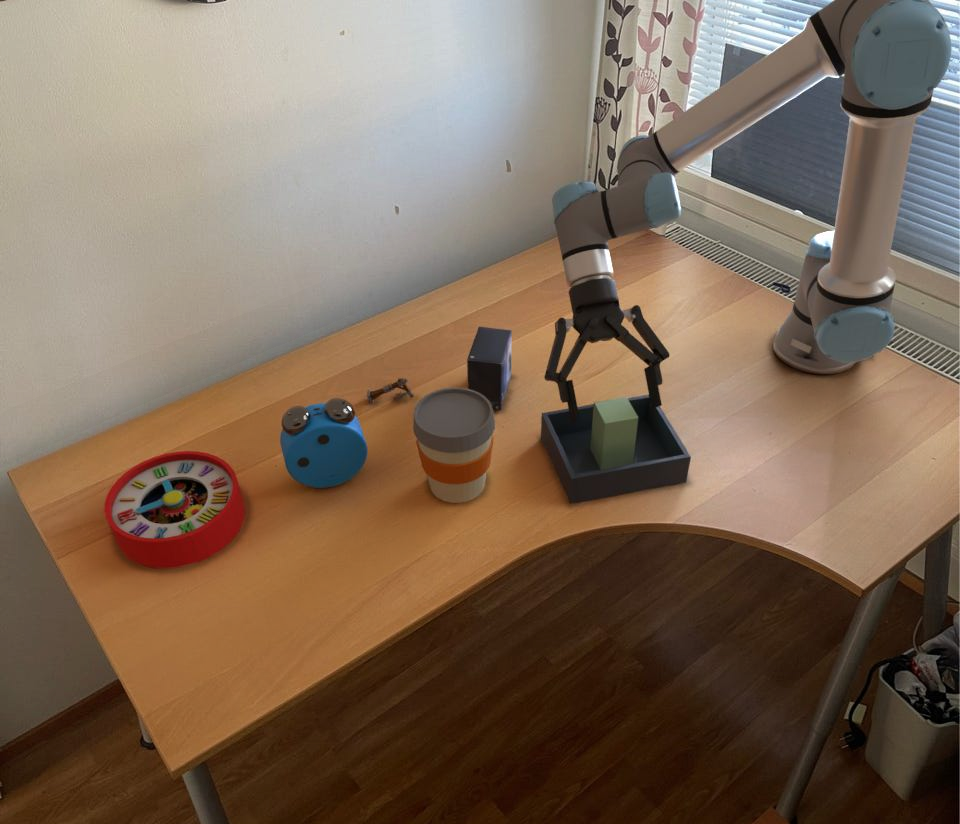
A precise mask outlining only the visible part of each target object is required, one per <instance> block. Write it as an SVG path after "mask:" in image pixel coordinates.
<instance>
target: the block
mask: <svg viewBox="0 0 960 824" xmlns="http://www.w3.org/2000/svg"><path fill="white" fill-rule="evenodd" d="M627 398H628V397H627V396H622V397H617V398H611V399H606V400H599V401H594V402H593V404H594V408H593V421H592V434H591V446H590V450H591V452H592V454H593V456H594V458H595V460H596V462H597V464H598V466H599V468H600V470H603V469H608V468H614V467H619V466H624V465H630V464H633V457H634V449H635V441H636V433H637V425H638V416H637V414H636V413H635V411H634V409H633V407H632V406H631V404H630V402H629V400H628V399H627Z"/></svg>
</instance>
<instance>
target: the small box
mask: <svg viewBox="0 0 960 824" xmlns="http://www.w3.org/2000/svg"><path fill="white" fill-rule="evenodd" d="M512 333H513V330H512V329H503V328H496V327H495V328H494V327H487V326H478V328H477V331H476V334H475V336H474V339H473V342H472V345H471V348H470V350H469V352H468V355H467V359H466V373H467V374H466V375H467V376H466V378H467V389H470V390H474V391H476V392H479V393H481V394H482V395H484V396H485V397H486V398H487V399H488V400H489V401H490V403H491V405H492V409H493V411H502V409H503V405H504V402H505V399H506V395H507V392H508V388H509V385H510V382H511V379H512V354H513V353H512V348H513V347H512V344H513V343H512V341H513V340H512V337H513V334H512Z"/></svg>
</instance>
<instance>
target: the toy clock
mask: <svg viewBox="0 0 960 824" xmlns="http://www.w3.org/2000/svg"><path fill="white" fill-rule="evenodd" d="M103 512H104V515H105V516H104V517H105V519H106V522H107V524H108V526H109V528H110V531H111V533H112V534H113V537H114V539H115V542H116V544H117V546H118V548H119V549H120V551H121V553H122V554H123V555H125V557H126V558H127V559H129V560H130V561H132V562H134V563H135V564H138V565H141V566H142V567H147V568H152V569H165V570H166V569H176V568H182V567H187V566H191V565H194V564H197V563H200V562H202V561H205V560H207V559H209V558H212V557H213V556H214V555H216V554H217V553H219V552H220V551H222V550H223V549H224V548H225V547H227V546H228V545H229V544H230V543H232V541H233V540H234V539H235V538H236V537H237V535H238V534H239V532H240V531H241V529H242V527H243V525H244V522H245V519H246V504H245V501H244V497H243V493H242V491H241V487H240V483H239V481H238V478H237V474H236V473H235V470H234V469H233V468H232V466H231V465H230V464H229V463H228V462H227V461H225V460H224V459H222V458H221V457H219V456H218V455H214V454H211V453H208V452H203V451H198V450H197V451H196V450H195V451H194V450H181V451H173V452H168V453H167V452H166V453H164V454H160V455H156V456H154V457H151V458H148V459H146V460H143V461H142V462H140V463H138V464H136V465H135V466H133V467H131V468H130V469H128V470H127V471H125V472H124V473H123V474H122V475H121V476H120V477H119V478H118V479H117V480H116V481H115V482H114V483H113V484H112V486H111V487H110V489H109V491H108V493H107V494H106V498H105V501H104V511H103Z"/></svg>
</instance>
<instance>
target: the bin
mask: <svg viewBox="0 0 960 824" xmlns="http://www.w3.org/2000/svg"><path fill="white" fill-rule="evenodd" d="M627 399H628V400H629V402H630V404H631V406H632V407H633V409H634V411H635V413H636V414H637V416H638V425H637V433H636V441H635V449H634V457H633V464H630V465H624V466H619V467H614V468H608V469H603V470H600V468H599V466H598V464H597V462H596V460H595V458H594V456H593V454H592V452H591V450H590V446H591V434H592V421H593V408H594V403H591V404H587V405H581V406H577V407H578V412H579V417H580V421H578V422H575V423H571V419H570V414H569V408H568V407H567V408H563V409H557V410H551V411H547V412H541V419H540V421H541V423H540V440H541V442H542V444H543V446H544V448H545V451H546V453H547V456H548V458H549V460H550V462H551V465H552V467H553V469H554V472H555V474H556V476H557V478H558V479H559V483H560V485H561V487H562V490H563V492H564V494H565V497H566V498H567V501H568V503H569V505H574V504H579V503H585V502H589V501H590V502H591V501H596V500H601V499H605V498H611V497H612V498H613V497H616V496H621V495H622V496H623V495H627V494H633V493H637V492H642V491H648V490H653V489H659V488H665V487H669V486H675V485H679V484H680V485H681V484H684V483H685V484H686V483H687V481H688V475H689V470H690V464H691V458H692V456H691V455H690V453H689V451H688V449H687V447H685V444H684V443H683V441H682V440H681V438H680V437H679V435H678V433H677V432H676V430H675V428H674V427H673V425H672V423H671V422H670V420H669V418H668V417H667V415H666V413H665V412H664V410H663V409H662V407H661V406H659V407H656V408H652V407H651V402H650V397H649V393H648V394H644V395H638V396H632V397H627Z"/></svg>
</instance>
